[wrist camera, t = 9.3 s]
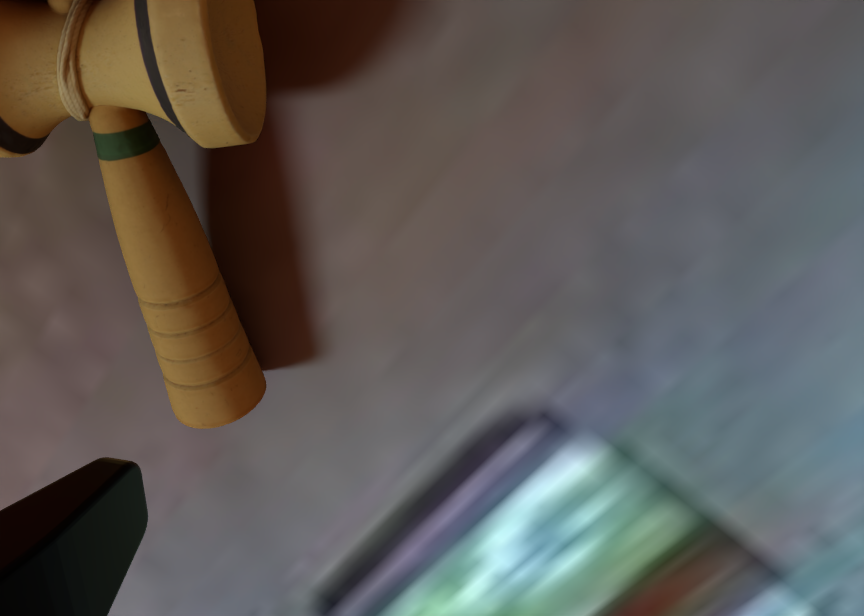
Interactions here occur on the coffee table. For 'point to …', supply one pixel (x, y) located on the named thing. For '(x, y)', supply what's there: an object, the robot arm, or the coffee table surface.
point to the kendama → (150, 158)
